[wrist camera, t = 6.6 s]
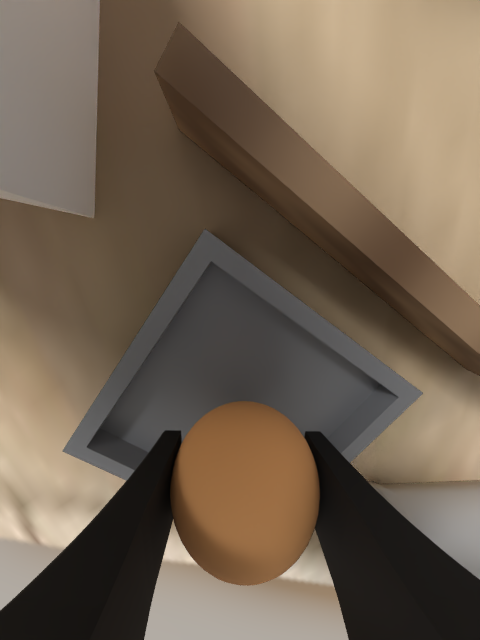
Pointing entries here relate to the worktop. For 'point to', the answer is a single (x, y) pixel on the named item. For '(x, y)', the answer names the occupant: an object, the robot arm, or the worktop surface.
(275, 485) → the egg
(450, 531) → the tube
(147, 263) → the worktop surface
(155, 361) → the tray
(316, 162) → the fence
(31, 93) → the milk
